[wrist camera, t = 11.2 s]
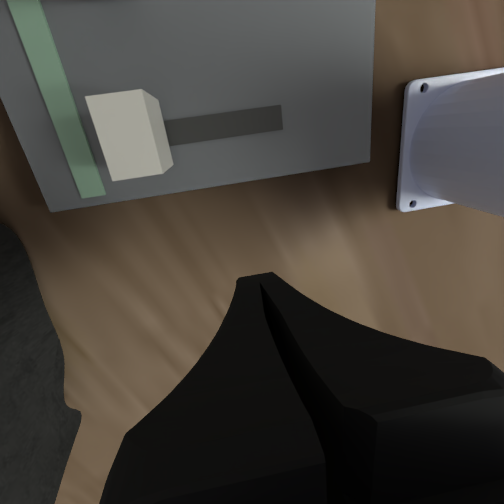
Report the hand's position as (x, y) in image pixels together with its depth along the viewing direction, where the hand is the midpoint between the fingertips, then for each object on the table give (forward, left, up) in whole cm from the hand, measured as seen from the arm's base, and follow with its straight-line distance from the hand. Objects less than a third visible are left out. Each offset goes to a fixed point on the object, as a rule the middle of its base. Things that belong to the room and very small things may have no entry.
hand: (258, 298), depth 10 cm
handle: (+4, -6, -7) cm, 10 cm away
